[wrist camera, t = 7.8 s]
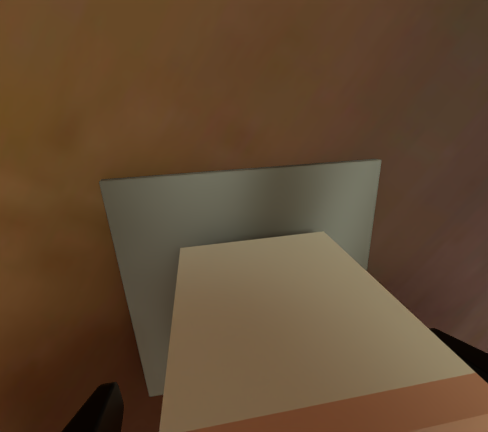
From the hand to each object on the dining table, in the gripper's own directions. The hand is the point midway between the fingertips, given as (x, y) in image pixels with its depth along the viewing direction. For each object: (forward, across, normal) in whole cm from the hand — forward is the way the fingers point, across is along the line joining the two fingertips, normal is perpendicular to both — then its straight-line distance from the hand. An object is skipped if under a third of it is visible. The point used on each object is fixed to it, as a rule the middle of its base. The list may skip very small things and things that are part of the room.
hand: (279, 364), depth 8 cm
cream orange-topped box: (+3, 0, 0) cm, 3 cm away
